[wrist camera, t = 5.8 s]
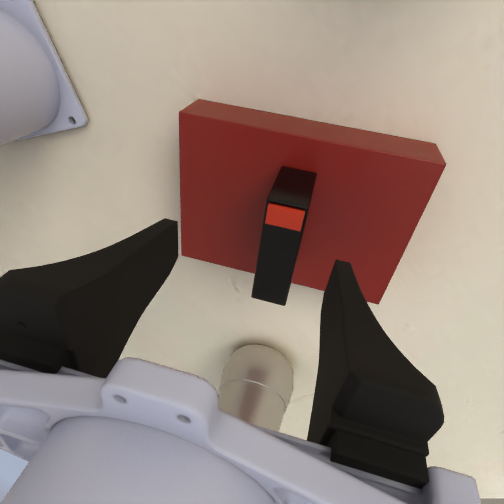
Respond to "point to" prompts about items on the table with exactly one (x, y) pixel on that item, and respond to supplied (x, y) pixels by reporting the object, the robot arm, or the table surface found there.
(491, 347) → the table surface
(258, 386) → the metal water bottle
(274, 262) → the block
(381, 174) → the red rectangular block
